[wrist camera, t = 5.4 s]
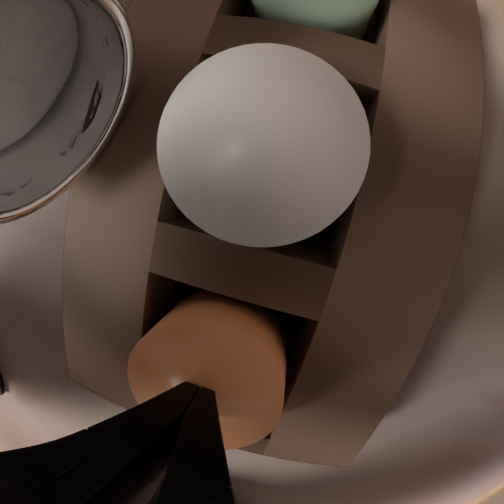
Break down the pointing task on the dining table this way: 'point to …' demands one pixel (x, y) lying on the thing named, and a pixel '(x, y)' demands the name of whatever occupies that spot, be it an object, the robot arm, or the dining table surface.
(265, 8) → the green button
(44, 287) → the dining table surface
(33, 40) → the beer glass
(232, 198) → the cream button
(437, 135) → the button panel
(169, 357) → the brown rounded piece
